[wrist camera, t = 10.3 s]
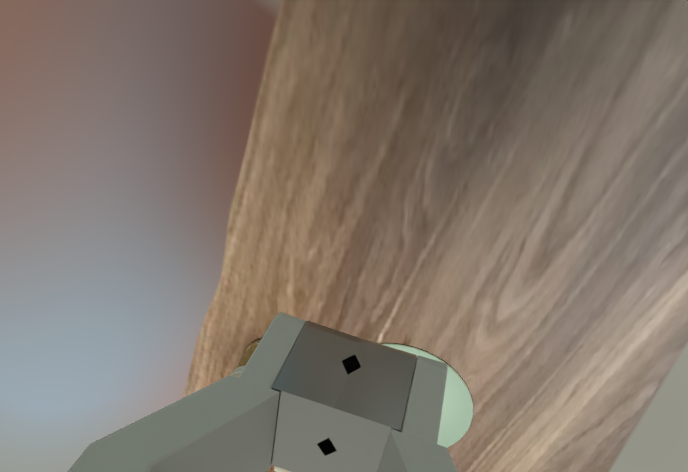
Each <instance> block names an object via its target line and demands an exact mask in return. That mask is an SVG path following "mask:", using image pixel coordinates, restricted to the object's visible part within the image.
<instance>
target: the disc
mask: <svg viewBox="0 0 688 472" xmlns="http://www.w3.org/2000/svg"><path fill="white" fill-rule="evenodd" d="M382 345H385V346H388V347H392V348H395V349H398V350H402V351H405V352H408V353H412V354H415V355H417V356H418V355H419V356H422V357H426V358H429V359H433V360H436V361H439V362H443V363H445V362H444V361H443V360H441V359H439V358H438V357H436V356H434V355H432V354H430V353H428V352H426V351H424V350H421V349H418V348H415V347H411V346H407V345H401V344H391V343H383V344H382ZM446 364H447V363H446ZM447 367H448V371H447V378H446V385H445V392H444V399H443V407H442V414H441V421H440V428H439V435H438V442H437V444H438V445H440V446H443V447H446V448H447V447H449V446H451V445H453V444H454V443H456V442H457V441H458V440H459V439H461V438H462V437H463V435H464V434H465V433H466V432H467V430H468V428H469V426H470V424H471V421H472V416H473V402H472V398H471V394H470V392H469V389H468V387H467V386H466V384H465V382H464V381H463V379H462V378H461V377H460V376H459V374H458V373H457V372H456V371H455V370H454V369H453V368H452V367H451V366H449V365H448V364H447Z"/></svg>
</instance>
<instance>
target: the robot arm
mask: <svg viewBox="0 0 688 472" xmlns="http://www.w3.org/2000/svg"><path fill="white" fill-rule="evenodd" d="M447 371H448V367H447V364H446V363H443V362H439V361H436V360H433V359H429V358H426V357H422V356H419V355H418V356H417V355H415V354H412V353H408V352H405V351H402V350H398V349H395V348H392V347H388V346H385V345H382V344H378V343H375V342H372V341H368V340H365V339H361V338H358V337H355V336H352V335H349V334H346V333H343V332H340V331H337V330H334V329H331V328H328V327H325V326H322V325H319V324H316V323H313V322H310V321H305V320H302V319H299V318H296V317H293V316H291V315H288V314H285V313H282V312H280V313H279V314H278V315H277V316H276V317H275V318H274V319H273V321H272V323H271V324H270V326H269V328H268V329H267V331H266V333H265V334H264V336H263V338H262V339H261V341H260V343H259V344H258V346H257V347H256V349H255V351H254V352H253V354H252V356H251V357H250V359H249V361H248V362H247V364H246V366H245V367H244V369H243V371H242V372H241V374H240V376H239V377H238V378H237V377H234V376H231V375H229V376H227V377H225V378H223V379H221V380H219V381H217V382H215V383H213V384H211V385H209V386H207V387H205V388H203V389H201V390H199V391H197V392H195V393H193V394H191V395H189V396H187V397H185V398H183V399H181V400H179V401H177V402H175V403H172V404H170V405H168V406H166V407H164V408H162V409H160V410H158V411H156V412H154V413H152V414H150V415H148V416H146V417H144V418H142V419H140V420H138V421H136V422H134V423H132V424H130V425H128V426H126V427H124V428H122V429H120V430H118V431H116V432H114V433H112V434H109V435H107V436H105V437H103V438H101V439H99V440H97V441H95V442H93V443H91V444H90V445H89V446H88V447H87V448H86V450H85V451H84V452H83V453H82V455H81V456H80V457H79V458H78V459H77V461H76V462H75V463H74V464H73V466H72V467H71V468H70V469H69V470H68V472H266V471H267V470H268V469H270V465H273V466H276V467H279V468H282V469H285V470H288V471H291V472H458V470H457V468H456V466H455V464H454V462H453V460H452V458H451V456H450V454H449V452H448V450H447V448H446V447H443V446H440V445H438V444H437V442H438V435H439V428H440V421H441V414H442V407H443V399H444V392H445V385H446V378H447Z"/></svg>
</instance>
